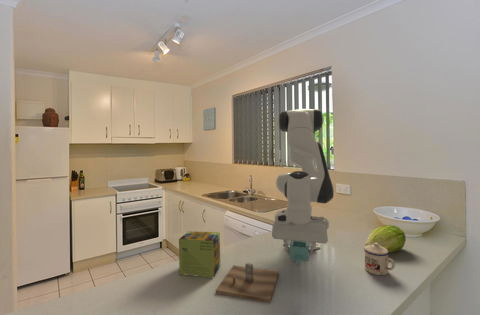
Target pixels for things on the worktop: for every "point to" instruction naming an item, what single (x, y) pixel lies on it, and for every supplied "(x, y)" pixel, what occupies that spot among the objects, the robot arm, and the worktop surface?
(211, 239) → the protein box
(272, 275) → the post board
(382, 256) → the teacup with lid
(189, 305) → the worktop surface
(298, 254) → the teal open cubby box
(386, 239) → the lettuce
